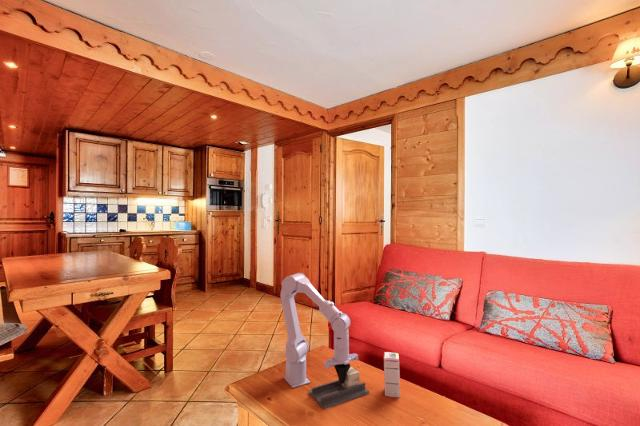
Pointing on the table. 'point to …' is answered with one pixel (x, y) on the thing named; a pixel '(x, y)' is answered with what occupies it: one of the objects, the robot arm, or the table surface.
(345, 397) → the chute
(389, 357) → the syrup box
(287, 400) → the table surface
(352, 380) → the block
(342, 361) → the robot arm
